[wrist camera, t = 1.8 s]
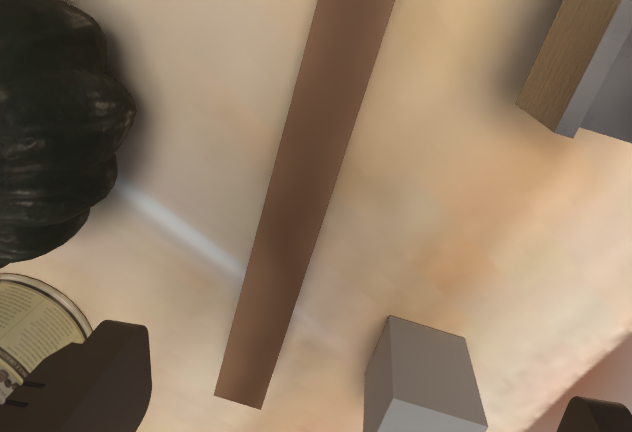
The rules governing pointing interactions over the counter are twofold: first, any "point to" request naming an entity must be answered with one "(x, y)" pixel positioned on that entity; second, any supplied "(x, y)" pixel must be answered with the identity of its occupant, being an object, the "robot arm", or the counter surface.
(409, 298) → the counter surface
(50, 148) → the squash
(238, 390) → the rail
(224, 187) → the counter surface
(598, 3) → the bracket
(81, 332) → the coffee can
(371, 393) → the rest block
